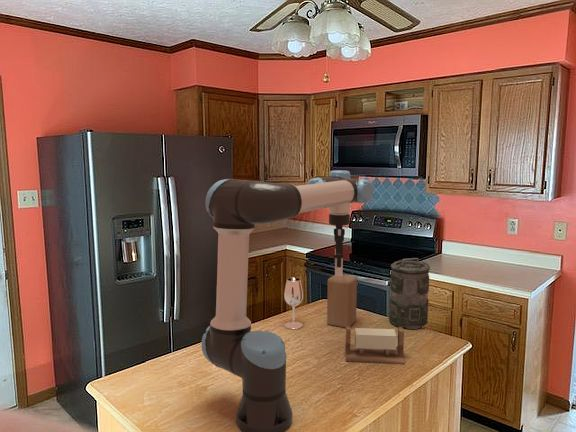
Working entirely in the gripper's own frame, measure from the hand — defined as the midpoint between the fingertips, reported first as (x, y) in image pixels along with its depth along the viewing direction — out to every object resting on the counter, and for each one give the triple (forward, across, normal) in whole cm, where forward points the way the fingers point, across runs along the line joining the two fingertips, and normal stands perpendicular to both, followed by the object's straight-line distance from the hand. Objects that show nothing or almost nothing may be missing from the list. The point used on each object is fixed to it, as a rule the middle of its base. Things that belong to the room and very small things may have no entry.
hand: (338, 270), depth 165 cm
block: (+29, +22, -2) cm, 36 cm away
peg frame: (+29, -7, -13) cm, 32 cm away
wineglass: (+29, +17, +18) cm, 38 cm away
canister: (+29, +25, -30) cm, 49 cm away
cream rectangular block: (+25, -7, -13) cm, 29 cm away
